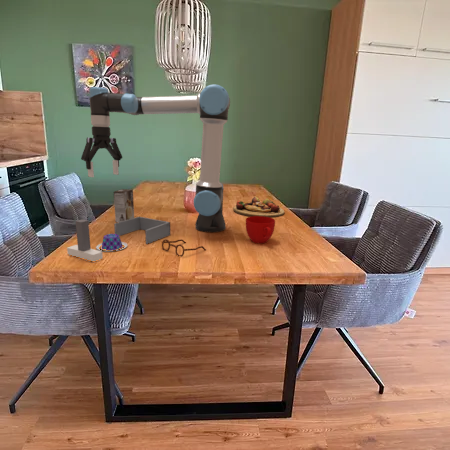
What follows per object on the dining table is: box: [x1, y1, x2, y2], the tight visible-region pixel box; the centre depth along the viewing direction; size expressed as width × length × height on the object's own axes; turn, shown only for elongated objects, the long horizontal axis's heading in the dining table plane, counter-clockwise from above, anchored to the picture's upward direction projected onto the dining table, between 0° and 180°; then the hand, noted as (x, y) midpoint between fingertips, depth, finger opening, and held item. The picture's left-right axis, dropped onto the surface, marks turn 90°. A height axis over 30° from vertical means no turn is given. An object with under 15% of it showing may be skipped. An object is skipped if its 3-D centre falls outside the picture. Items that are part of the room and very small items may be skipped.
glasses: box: [161, 239, 207, 258], centre depth 129 cm, size 13×13×5 cm
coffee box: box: [113, 188, 135, 223], centre depth 168 cm, size 9×6×16 cm
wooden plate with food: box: [232, 196, 285, 219], centre depth 200 cm, size 32×32×8 cm
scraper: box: [66, 219, 104, 261], centre depth 117 cm, size 14×4×14 cm, turn 62°
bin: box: [113, 216, 171, 245], centre depth 145 cm, size 19×16×6 cm
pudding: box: [95, 233, 128, 252], centre depth 129 cm, size 12×12×5 cm
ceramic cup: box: [245, 216, 276, 244], centre depth 141 cm, size 13×17×10 cm
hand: (104, 175), depth 144 cm, fingers open, 13 cm apart
